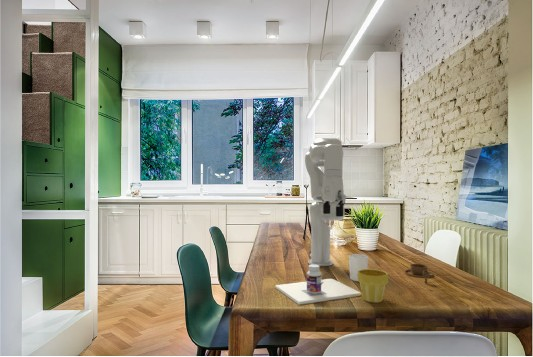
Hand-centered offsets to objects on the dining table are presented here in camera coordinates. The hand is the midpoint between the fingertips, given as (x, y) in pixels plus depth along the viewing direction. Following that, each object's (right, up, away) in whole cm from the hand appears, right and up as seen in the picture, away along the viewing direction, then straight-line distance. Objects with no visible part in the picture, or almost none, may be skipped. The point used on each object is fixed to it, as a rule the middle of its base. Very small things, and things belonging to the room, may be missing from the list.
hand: (332, 215), depth 148 cm
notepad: (-9, -28, -13) cm, 32 cm away
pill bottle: (-10, -27, -17) cm, 33 cm away
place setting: (+38, -29, +8) cm, 49 cm away
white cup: (+12, -28, +4) cm, 31 cm away
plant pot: (+10, -28, -22) cm, 37 cm away
